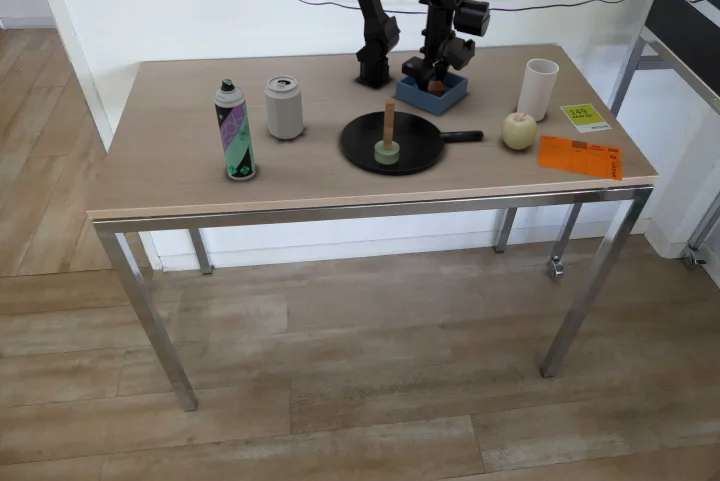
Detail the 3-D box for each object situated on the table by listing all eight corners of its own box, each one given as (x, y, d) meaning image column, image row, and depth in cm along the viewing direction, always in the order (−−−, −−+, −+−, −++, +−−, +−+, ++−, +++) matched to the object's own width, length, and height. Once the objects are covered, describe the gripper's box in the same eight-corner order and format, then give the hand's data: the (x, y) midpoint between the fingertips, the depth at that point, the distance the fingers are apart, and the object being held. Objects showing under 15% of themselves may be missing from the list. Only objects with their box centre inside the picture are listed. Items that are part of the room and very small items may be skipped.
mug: (549, 121, 127) (563, 73, 119) (520, 123, 127) (533, 74, 118) (534, 98, 134) (547, 51, 126) (507, 99, 134) (518, 52, 125)
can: (309, 126, 124) (306, 76, 116) (295, 144, 119) (291, 94, 111) (278, 119, 126) (273, 70, 118) (263, 137, 121) (257, 87, 113)
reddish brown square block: (423, 91, 135) (424, 81, 133) (439, 89, 135) (440, 80, 133) (427, 100, 132) (429, 90, 130) (444, 98, 132) (445, 89, 131)
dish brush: (373, 150, 116) (375, 94, 107) (397, 149, 117) (401, 93, 108) (375, 165, 113) (378, 108, 104) (400, 164, 113) (404, 107, 104)
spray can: (229, 164, 114) (212, 74, 100) (256, 163, 115) (243, 73, 100) (226, 181, 110) (209, 89, 96) (255, 180, 111) (241, 89, 97)
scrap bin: (395, 97, 134) (396, 81, 131) (423, 77, 140) (425, 62, 138) (438, 115, 128) (440, 99, 125) (465, 94, 135) (468, 78, 132)
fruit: (540, 148, 120) (549, 115, 114) (514, 158, 117) (523, 126, 112) (515, 130, 125) (523, 98, 119) (490, 140, 122) (497, 108, 116)
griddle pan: (345, 178, 112) (345, 170, 110) (336, 117, 127) (336, 110, 126) (497, 169, 114) (499, 161, 113) (470, 111, 130) (471, 103, 128)
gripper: (447, 52, 114) (438, 119, 125) (492, 22, 124) (480, 86, 135) (402, 36, 118) (397, 101, 129) (449, 8, 129) (441, 71, 140)
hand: (431, 90), depth 133 cm, fingers open, 6 cm apart
